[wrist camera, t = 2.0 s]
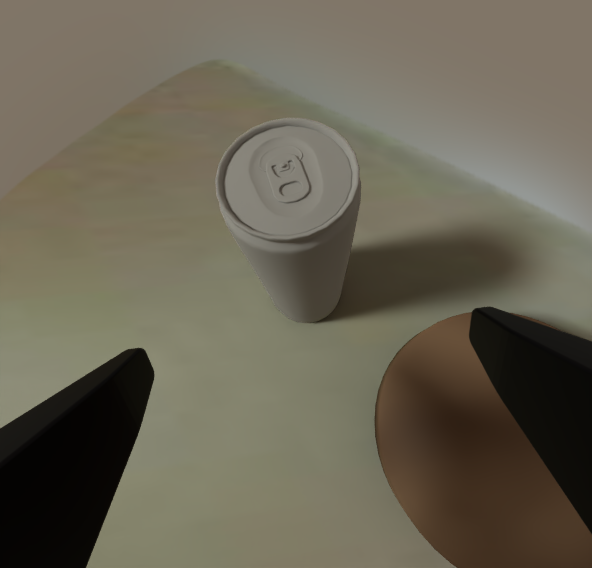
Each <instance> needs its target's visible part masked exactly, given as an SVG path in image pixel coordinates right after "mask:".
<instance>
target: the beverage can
mask: <svg viewBox="0 0 592 568" xmlns="http://www.w3.org/2000/svg"><path fill="white" fill-rule="evenodd" d="M359 170H360V169H359V165H358V161H357V158H356V154H355V152H354V151H353V149H352V148H351V146H350V145H349V143H348V141H347V140H346V139H345V138H344V137H343V136H341V135H340V134H339V133H338V132H337V131H336V130H334V129H333V128H331V127H329V126H327V125H324V124H322V123H320V122H317V121H313V120H309V119H304V118H282V119H277V120H272V121H267V122H265V123H262V124H260V125H258V126H255V127H253V128H251V129H249V130H248V131H246V132H245V133H244V134H242V135H241V136H239V137H238V138H237V139H236V140H235V141H234V142H233V143H232V144H231V145H230V147H229V148H228V149H227V150H226V152H225V153H224V155H223V157H222V159H221V161H220V163H219V165H218V170H217V175H216V179H215V182H216V193H217V198H218V200H219V203H220V211H221V213H222V215H223V218H224V220H225V222H226V225H227V227H228V229H229V230H230V232H231V234H232V235H233V237H234V239H235V240H236V242H237V244H238V245H239V247H240V249H241V250H242V252H243V254H244V255H245V257H246V258H247V260H248V262H249V263H250V265H251V266H252V268H253V269H254V271H255V273H256V274H257V276H258V277H259V279H260V281H261V282H262V284H263V286H264V287H265V289H266V291H267V292H268V294H269V296H270V298H271V299H272V301H273V303H274V304H275V306H276V307H277V308H278V309H279V311H280V312H281V313H282V314H284V315H285V316H286V317H288V318H289V319H291V320H294V321H296V322H301V323H311V322H316V321H319V320H321V319H323V318H325V317H327V316H328V315H329V314H330V313H331V312H332V311H333V310H334V309H335V307H336V305H337V304H338V302H339V299H340V296H341V292H342V287H343V282H344V278H345V274H346V270H347V266H348V261H349V257H350V252H351V247H352V242H353V237H354V232H355V226H356V221H357V216H358V211H359V206H360V197H361V181H360V177H359Z"/></svg>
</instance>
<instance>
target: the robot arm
mask: <svg viewBox="0 0 592 568" xmlns="http://www.w3.org/2000/svg"><path fill="white" fill-rule="evenodd" d="M469 340H470V343H471V345H472V347H473V349H474V350H475V352H476V354H477V356H478V358H479V360H480V362H481V364H482V366H483V368H484V370H485V371H486V373H487V375H488V377H489V379H490V381H491V383H492V385H493V386H494V388H495V390H496V392H497V393H498V395H499V397H500V398H501V400H502V401H503V403H504V404H505V406H506V407H507V409H508V410H509V412H510V413H511V415H512V416H513V418H514V419H515V421H516V422H517V424H518V425H519V427H520V428H521V430H522V431H523V433H524V434H525V436H526V437H527V439H528V440H529V442H530V443H531V444H532V446H533V447H534V449H535V450H536V452H537V453H538V455H539V456H540V458H541V459H542V461H543V462H544V464H545V465H546V467H547V468H548V470H549V471H550V473H551V474H552V476H553V477H554V479H555V480H556V482H557V483H558V485H559V486H560V488H561V489H562V491H563V492H564V494H565V495H566V497H567V498H568V500H569V501H570V503H571V504H572V506H573V507H574V509H575V510H576V512H577V513H578V515H579V516H580V518H581V519H582V521H583V522H584V524H585V525H586V527H587V528H588V530H589V531H590V533H591V534H592V342H591V341H589V340H586V339H583V338H580V337H577V336H574V335H571V334H568V333H566V332H563V331H560V330H557V329H554V328H551V327H548V326H545V325H542V324H540V323H537V322H534V321H531V320H528V319H525V318H522V317H519V316H516V315H514V314H511V313H508V312H505V311H502V310H499V309H496V308H493V307H482V308H475V309H474V310H473V311H472V314H471V322H470V329H469ZM153 381H154V370H153V367H152V365H151V363H150V360H149V358H148V356H147V353H146V351H145V350H144V349H142V348H135V349H128V350H125V351H124V352H122V353H121V354H119V355H117V356H116V357H114V358H113V359H111V360H109V361H108V362H106V363H105V364H103V365H101V366H100V367H98V368H97V369H95V370H93V371H92V372H90V373H88V374H87V375H85V376H84V377H82V378H80V379H79V380H77V381H76V382H74V383H72V384H71V385H69V386H68V387H66V388H64V389H63V390H61V391H60V392H58V393H56V394H55V395H53V396H52V397H50V398H48V399H47V400H45V401H44V402H42V403H40V404H39V405H37V406H36V407H34V408H32V409H31V410H29V411H28V412H26V413H24V414H23V415H21V416H20V417H18V418H16V419H15V420H13V421H12V422H10V423H8V424H7V425H5V426H4V427H2V428H0V568H86V566H87V564H88V561H89V559H90V556H91V553H92V551H93V548H94V546H95V543H96V541H97V538H98V536H99V533H100V530H101V528H102V525H103V523H104V520H105V518H106V515H107V513H108V510H109V508H110V505H111V502H112V500H113V497H114V495H115V492H116V490H117V487H118V485H119V482H120V479H121V477H122V474H123V472H124V469H125V467H126V464H127V462H128V459H129V456H130V454H131V451H132V449H133V446H134V444H135V441H136V439H137V436H138V433H139V430H140V427H141V424H142V421H143V417H144V413H145V410H146V406H147V403H148V399H149V395H150V392H151V388H152V385H153Z"/></svg>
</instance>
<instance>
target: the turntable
mask: <svg viewBox="0 0 592 568" xmlns="http://www.w3.org/2000/svg"><path fill="white" fill-rule="evenodd" d="M471 314H472V312H471V313H464V314H460V315H456V316H453V317H450V318H447V319H445V320H442V321H440V322H437V323H436V324H434V325H432V326H431V327H429V328H427V329H426V330H424V331H422V332H420V333H419V334H417V335H416V336H415V337H413V338H412V339H411V340H410V341H408V342H407V343H406V344H405V345H404V346H403V347H402V348H401V349H400V350H399V351H398V353H397V354H396V355H395V357H394V358H393V360H392V361H391V363H390V364H389V366H388V368H387V370H386V372H385V374H384V376H383V379H382V381H381V384H380V387H379V390H378V395H377V400H376V406H375V437H376V443H377V449H378V454H379V457H380V461H381V464H382V468H383V471H384V473H385V475H386V478H387V480H388V483H389V485H390V487H391V489H392V491H393V493H394V494H395V496H396V498H397V500H398V501H399V503H400V505H401V506H402V508H403V509H404V511H405V512H406V514H407V515H408V517H409V518H410V519H411V521H412V522H413V524H414V525H415V526H416V528H417V529H418V531H419V532H420V533H421V534H422V535H423V536H424V538H425V539H426V540H427V541H428V542H429V543H430V544H431V545H432V547H433V548H434V549H435V550H437V551H438V552H439V553H440V554H441V555H442V556H443V557H444V558H446V559H447V560H448V561H449V562H450V563H451V564H453V565H454V566H456V567H457V568H592V534H591V533H590V531H589V530H588V528H587V527H586V525H585V524H584V522H583V521H582V519H581V518H580V516H579V515H578V513H577V512H576V510H575V509H574V507H573V506H572V504H571V503H570V501H569V500H568V498H567V497H566V495H565V494H564V492H563V491H562V489H561V488H560V486H559V485H558V483H557V482H556V480H555V479H554V477H553V476H552V474H551V473H550V471H549V470H548V468H547V467H546V465H545V464H544V462H543V461H542V459H541V458H540V456H539V455H538V453H537V452H536V450H535V449H534V447H533V446H532V444H531V443H530V442H529V440H528V439H527V437H526V436H525V434H524V433H523V431H522V430H521V428H520V427H519V425H518V424H517V422H516V421H515V419H514V418H513V416H512V415H511V413H510V412H509V410H508V409H507V407H506V406H505V404H504V403H503V401H502V400H501V398H500V397H499V395H498V393H497V392H496V390H495V388H494V386H493V385H492V383H491V381H490V379H489V377H488V375H487V373H486V371H485V370H484V368H483V366H482V364H481V362H480V360H479V358H478V356H477V354H476V352H475V350H474V349H473V347H472V345H471V343H470V340H469V329H470V322H471ZM511 314H513V313H511ZM514 315H516V316H519V317H522V318H525V319H528V320H531V321H534V322H537V323H540V324H542V325H545V326H548V327H551V328H554V327H552V326H550V325H548V324H546V323H544V322H541V321H538V320H535V319H532V318H529V317H526V316H522V315H517V314H514ZM554 329H556V328H554ZM557 330H558V329H557Z"/></svg>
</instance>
